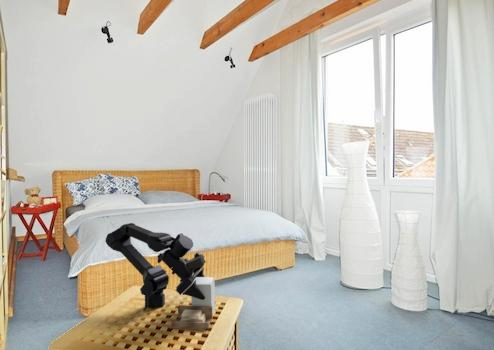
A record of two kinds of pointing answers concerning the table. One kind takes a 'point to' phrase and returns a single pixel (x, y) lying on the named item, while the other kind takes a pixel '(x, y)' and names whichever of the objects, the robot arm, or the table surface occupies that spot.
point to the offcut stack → (193, 316)
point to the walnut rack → (193, 325)
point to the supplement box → (205, 292)
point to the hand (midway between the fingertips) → (207, 293)
